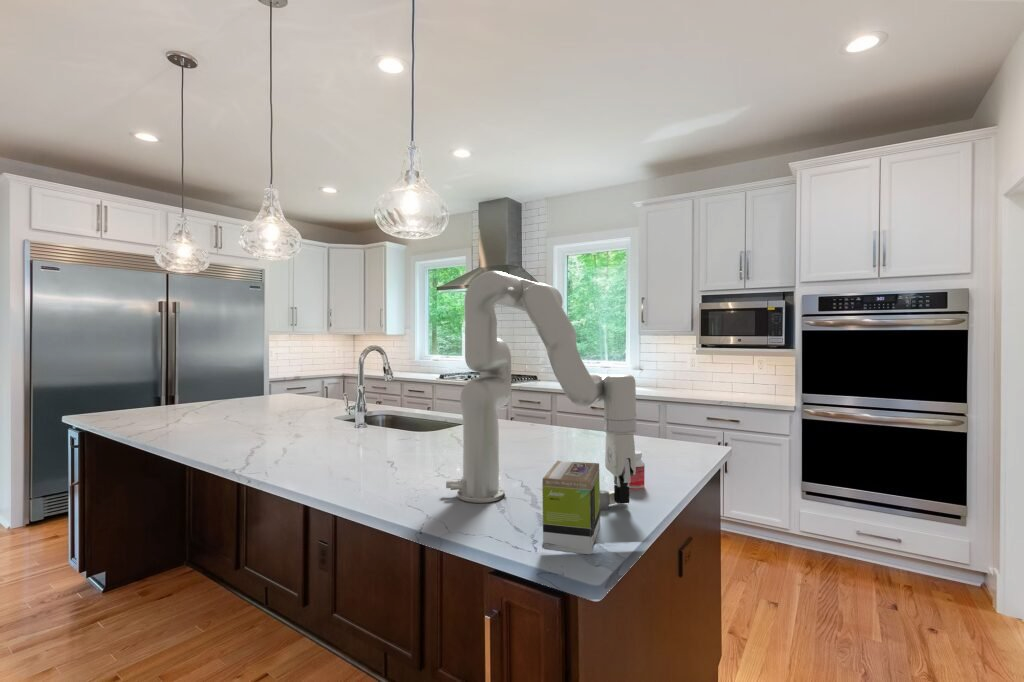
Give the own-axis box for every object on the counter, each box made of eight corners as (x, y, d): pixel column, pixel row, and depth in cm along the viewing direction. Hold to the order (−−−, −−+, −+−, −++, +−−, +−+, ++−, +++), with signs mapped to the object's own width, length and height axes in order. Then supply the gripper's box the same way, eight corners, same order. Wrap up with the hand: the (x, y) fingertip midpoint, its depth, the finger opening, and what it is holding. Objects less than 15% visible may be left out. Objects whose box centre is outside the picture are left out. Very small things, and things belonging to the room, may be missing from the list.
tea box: (556, 523, 115) (557, 458, 115) (601, 528, 112) (601, 462, 112) (541, 550, 100) (541, 475, 100) (591, 556, 97) (592, 480, 97)
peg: (602, 510, 119) (602, 494, 119) (593, 507, 121) (593, 491, 121) (628, 504, 124) (628, 489, 124) (619, 501, 126) (619, 486, 126)
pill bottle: (649, 492, 138) (649, 452, 138) (633, 496, 135) (633, 455, 135) (632, 487, 143) (632, 448, 143) (616, 490, 140) (617, 451, 140)
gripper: (597, 421, 128) (598, 493, 128) (613, 431, 113) (615, 513, 113) (626, 420, 128) (627, 492, 128) (646, 430, 114) (648, 511, 113)
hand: (621, 502), depth 121 cm, fingers closed
